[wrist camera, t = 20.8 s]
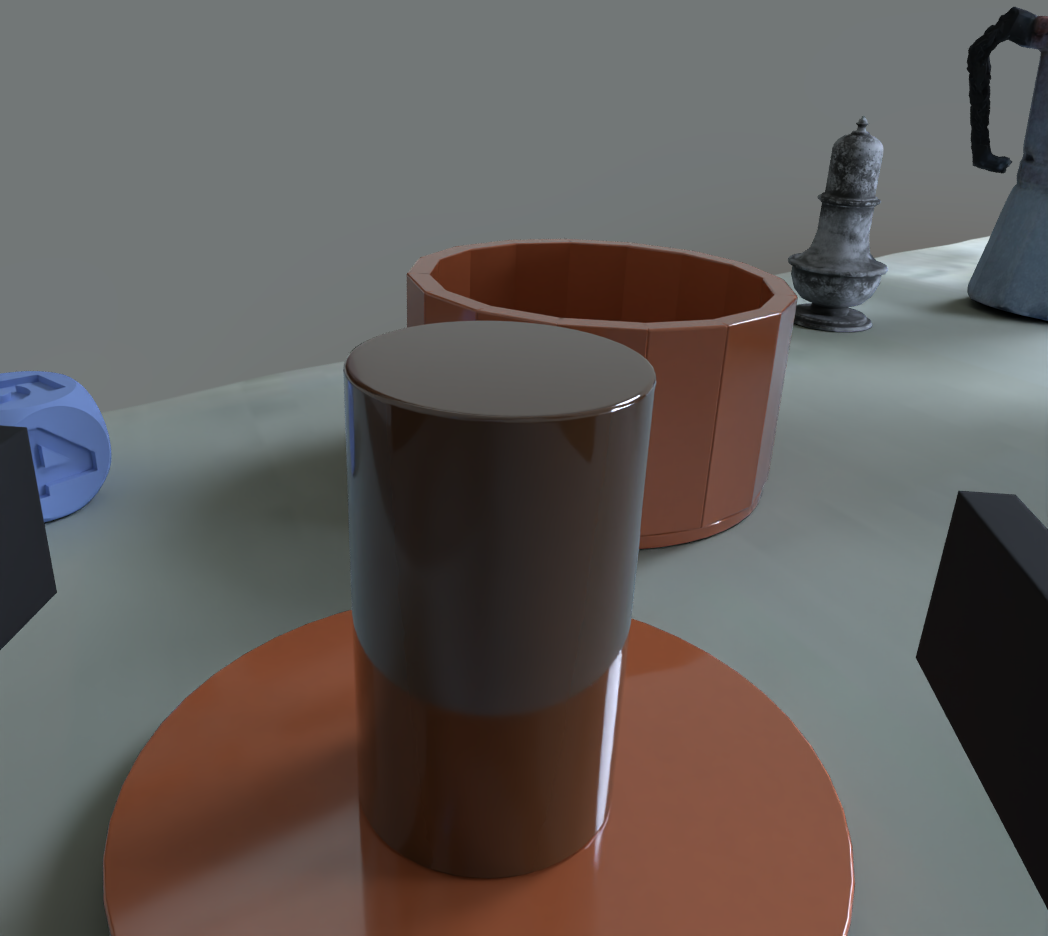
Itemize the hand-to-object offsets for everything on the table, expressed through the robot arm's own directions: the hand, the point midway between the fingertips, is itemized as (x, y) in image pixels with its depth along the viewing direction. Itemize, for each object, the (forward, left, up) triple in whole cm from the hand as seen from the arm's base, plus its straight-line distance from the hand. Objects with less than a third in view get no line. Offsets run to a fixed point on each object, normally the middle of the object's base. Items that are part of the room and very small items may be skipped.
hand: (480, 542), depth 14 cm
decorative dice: (+17, -16, -9) cm, 25 cm away
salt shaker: (-17, -47, -9) cm, 51 cm away
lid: (0, -3, -8) cm, 9 cm away
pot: (-2, -22, -8) cm, 24 cm away
